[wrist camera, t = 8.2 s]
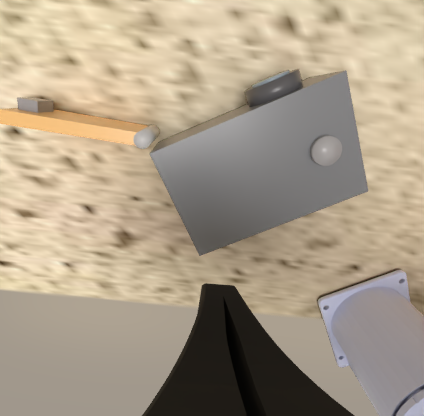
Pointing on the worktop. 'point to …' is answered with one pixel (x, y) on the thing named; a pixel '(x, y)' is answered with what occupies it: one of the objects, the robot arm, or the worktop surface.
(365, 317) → the robot arm
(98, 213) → the worktop surface
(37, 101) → the side door
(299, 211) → the camera body
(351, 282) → the worktop surface
